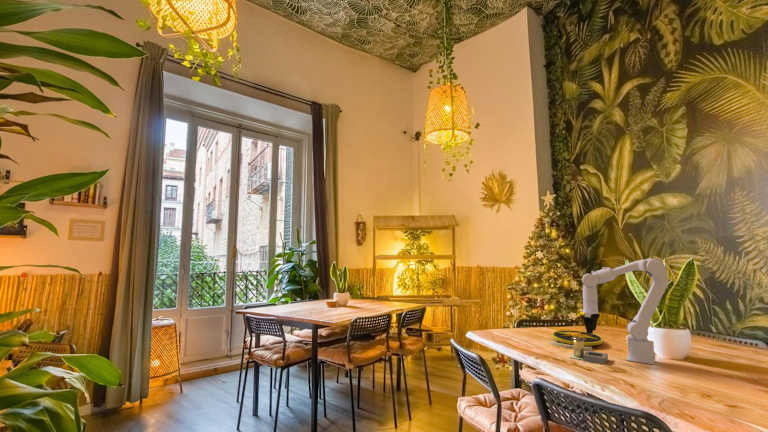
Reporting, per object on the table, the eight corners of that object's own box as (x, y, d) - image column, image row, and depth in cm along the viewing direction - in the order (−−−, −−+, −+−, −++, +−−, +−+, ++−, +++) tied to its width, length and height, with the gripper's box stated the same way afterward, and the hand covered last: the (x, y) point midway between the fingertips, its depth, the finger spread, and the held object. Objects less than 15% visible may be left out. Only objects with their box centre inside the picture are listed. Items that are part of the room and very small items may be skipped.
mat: (585, 356, 170) (585, 355, 170) (582, 360, 164) (582, 359, 164) (572, 354, 173) (572, 353, 173) (569, 358, 167) (569, 357, 167)
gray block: (607, 359, 165) (607, 353, 166) (604, 364, 158) (604, 358, 158) (587, 356, 170) (586, 350, 170) (583, 361, 163) (582, 354, 163)
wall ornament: (609, 329, 198) (594, 343, 176) (609, 339, 198) (595, 355, 175) (561, 323, 213) (542, 335, 191) (562, 332, 213) (543, 346, 191)
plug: (585, 356, 168) (584, 337, 169) (583, 358, 165) (583, 339, 166) (574, 354, 171) (573, 336, 172) (572, 356, 168) (571, 338, 168)
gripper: (583, 298, 182) (584, 327, 181) (577, 301, 170) (578, 333, 169) (600, 299, 178) (601, 329, 176) (595, 303, 166) (596, 335, 165)
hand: (591, 331), depth 173 cm, fingers open, 7 cm apart
